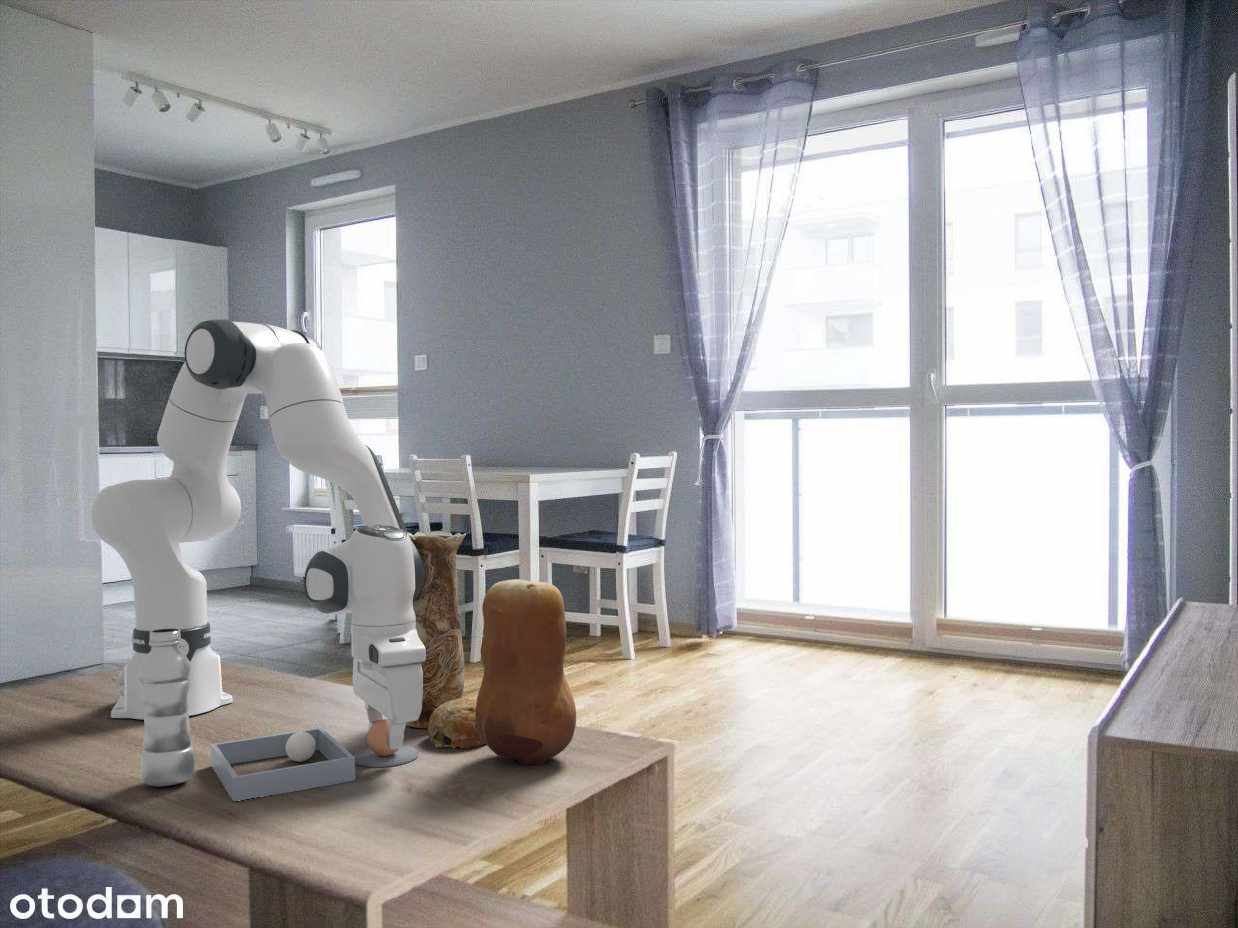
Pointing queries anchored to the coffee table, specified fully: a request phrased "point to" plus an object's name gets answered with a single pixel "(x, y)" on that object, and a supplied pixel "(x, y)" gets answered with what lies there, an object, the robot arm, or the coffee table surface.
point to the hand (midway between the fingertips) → (385, 740)
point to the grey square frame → (282, 779)
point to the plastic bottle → (166, 711)
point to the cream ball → (300, 746)
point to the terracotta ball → (380, 738)
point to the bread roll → (455, 725)
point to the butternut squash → (524, 673)
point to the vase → (439, 622)
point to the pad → (386, 757)
